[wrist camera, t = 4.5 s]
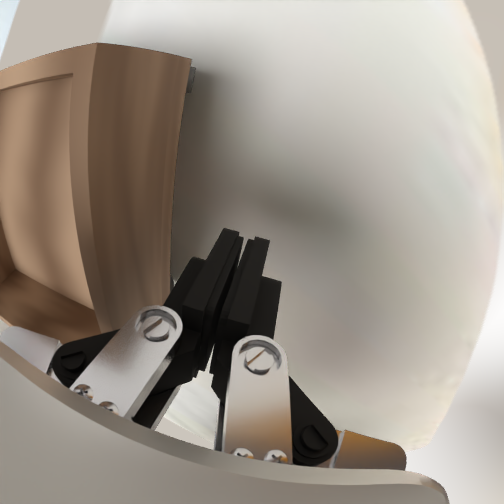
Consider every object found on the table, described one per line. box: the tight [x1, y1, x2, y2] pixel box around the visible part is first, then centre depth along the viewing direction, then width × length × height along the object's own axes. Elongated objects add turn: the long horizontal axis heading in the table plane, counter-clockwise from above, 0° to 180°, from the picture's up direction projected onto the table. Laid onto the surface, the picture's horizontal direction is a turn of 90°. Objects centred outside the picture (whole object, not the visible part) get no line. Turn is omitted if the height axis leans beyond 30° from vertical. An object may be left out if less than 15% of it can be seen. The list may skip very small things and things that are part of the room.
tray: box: [0, 43, 195, 344], centre depth 11 cm, size 14×14×9 cm
